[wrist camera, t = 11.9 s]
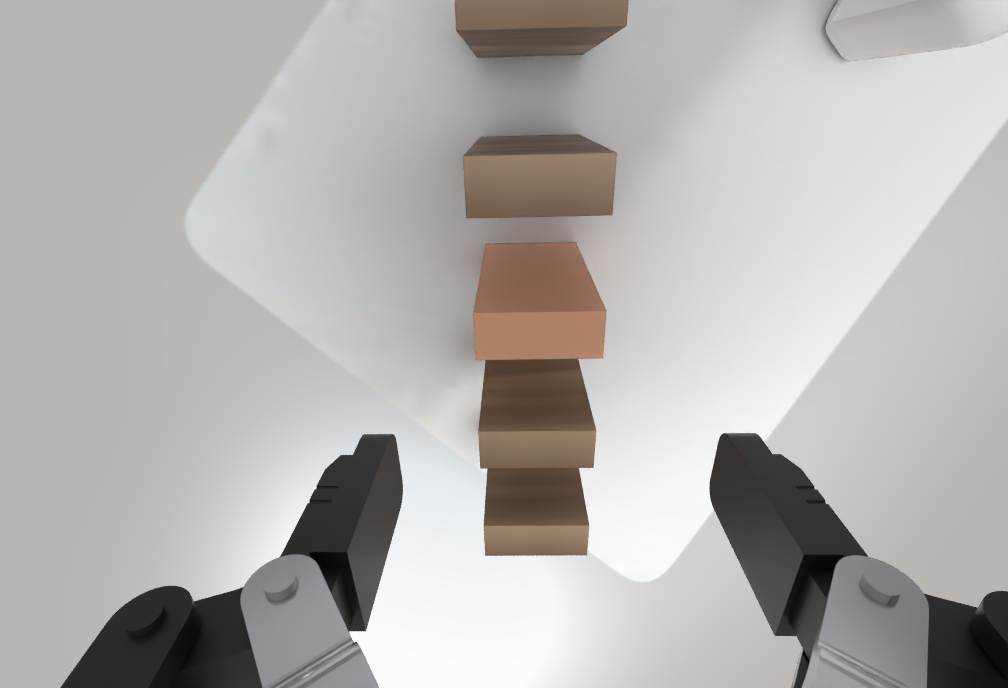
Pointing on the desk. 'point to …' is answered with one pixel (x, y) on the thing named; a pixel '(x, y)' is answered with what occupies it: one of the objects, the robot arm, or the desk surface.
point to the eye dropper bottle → (912, 26)
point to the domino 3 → (537, 304)
